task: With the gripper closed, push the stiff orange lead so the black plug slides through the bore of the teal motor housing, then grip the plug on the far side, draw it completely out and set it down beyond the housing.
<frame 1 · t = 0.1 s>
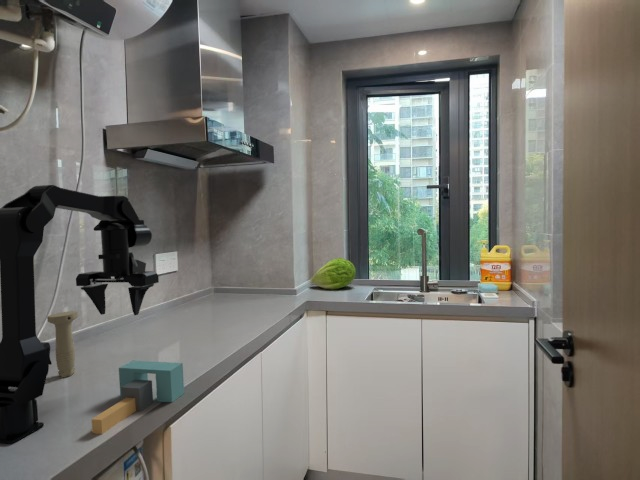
hand: (119, 314, 102), 15 cm above the worktop, fingers open, 9 cm apart
lettuce: (333, 288, 218), on the worktop
plug: (138, 406, 85), on the worktop
handle: (66, 376, 104), on the worktop
housing: (152, 395, 90), on the worktop
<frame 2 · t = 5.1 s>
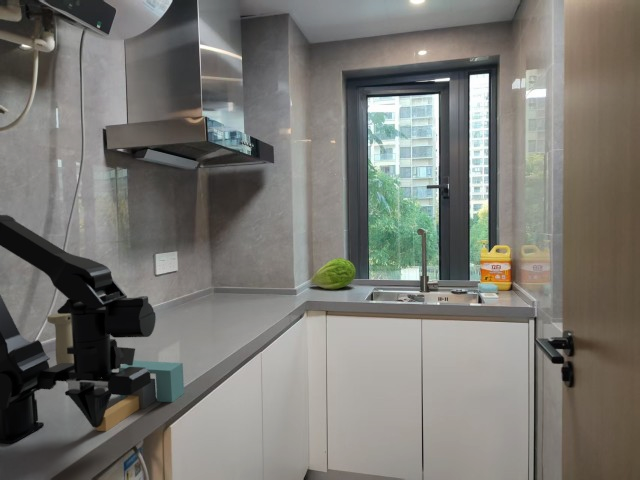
hand: (97, 426, 74), 1 cm above the worktop, fingers closed, pressing on plug
plug: (141, 403, 86), on the worktop, touching gripper
everything else where it was.
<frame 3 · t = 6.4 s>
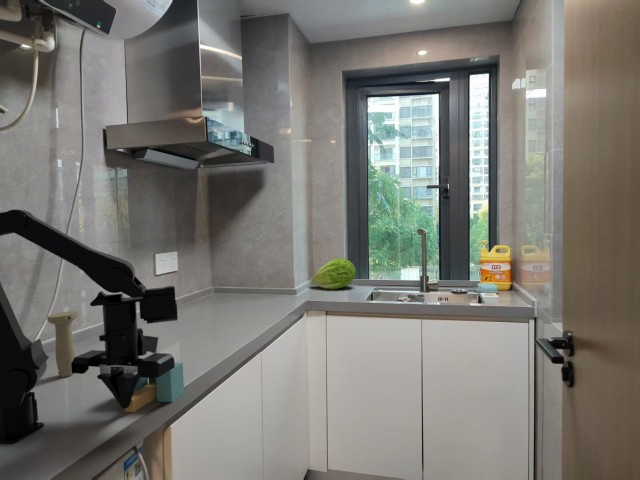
hand: (125, 407, 81), 1 cm above the worktop, fingers closed, pressing on plug
plug: (163, 389, 93), on the worktop, touching gripper
everything else where it was.
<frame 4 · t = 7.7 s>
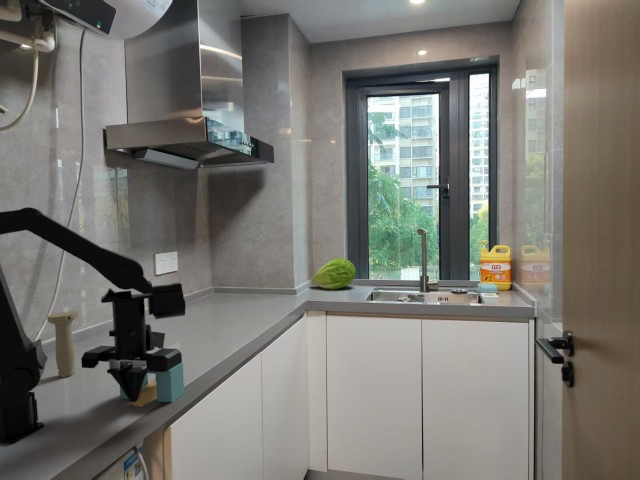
hand: (134, 401, 84), 1 cm above the worktop, fingers closed
plug: (169, 384, 96), on the worktop
everything else where it was.
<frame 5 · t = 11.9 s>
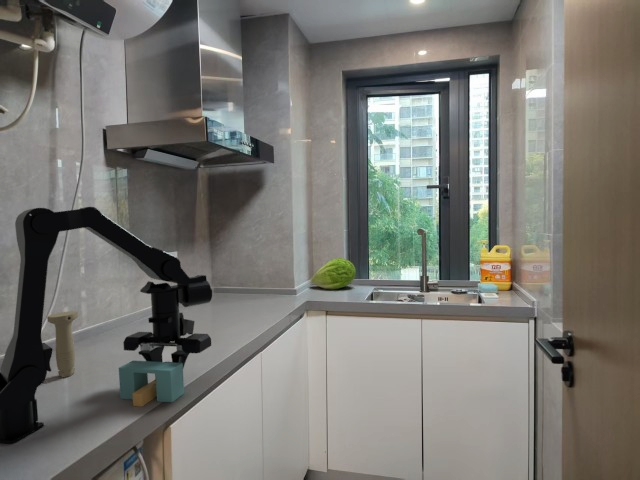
hand: (169, 379, 96), 1 cm above the worktop, fingers closed on plug, 4 cm apart
plug: (169, 384, 96), on the worktop, touching gripper
everything else where it was.
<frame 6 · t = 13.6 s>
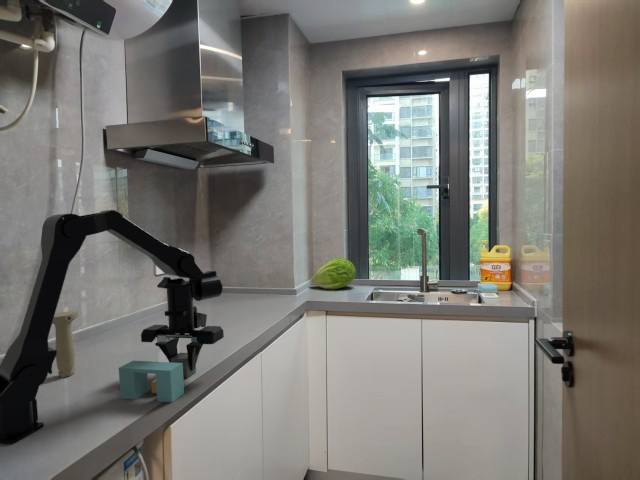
hand: (184, 369, 101), 1 cm above the worktop, fingers closed on plug, 4 cm apart
plug: (184, 374, 101), on the worktop, touching gripper
everything else where it was.
when the fingers open (1 cm above the worktop, at t = 15.2 s): plug stays where it is, on the worktop.
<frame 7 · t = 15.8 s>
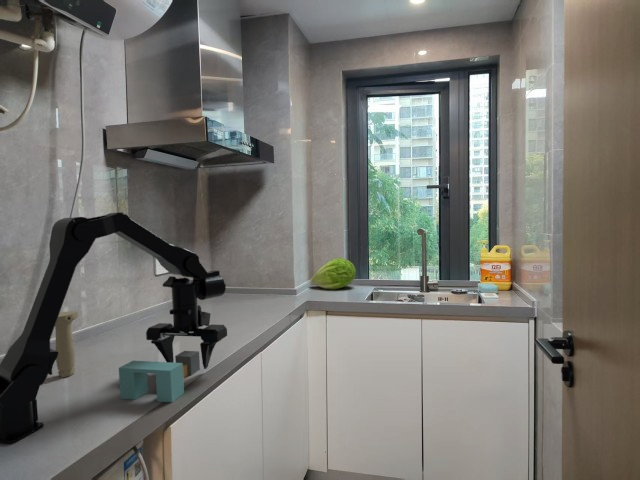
hand: (188, 367, 103), 1 cm above the worktop, fingers open, 9 cm apart
plug: (188, 372, 103), on the worktop
everything else where it was.
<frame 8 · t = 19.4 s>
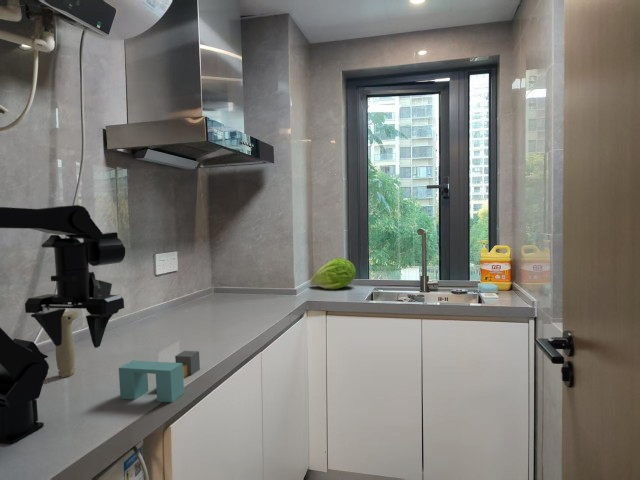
hand: (77, 346, 86), 12 cm above the worktop, fingers open, 9 cm apart
nothing on the worktop moved.
at the end: plug inside the target area (3.0 cm from its centre), on the worktop; plug touching worktop; the gripper is holding nothing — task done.
